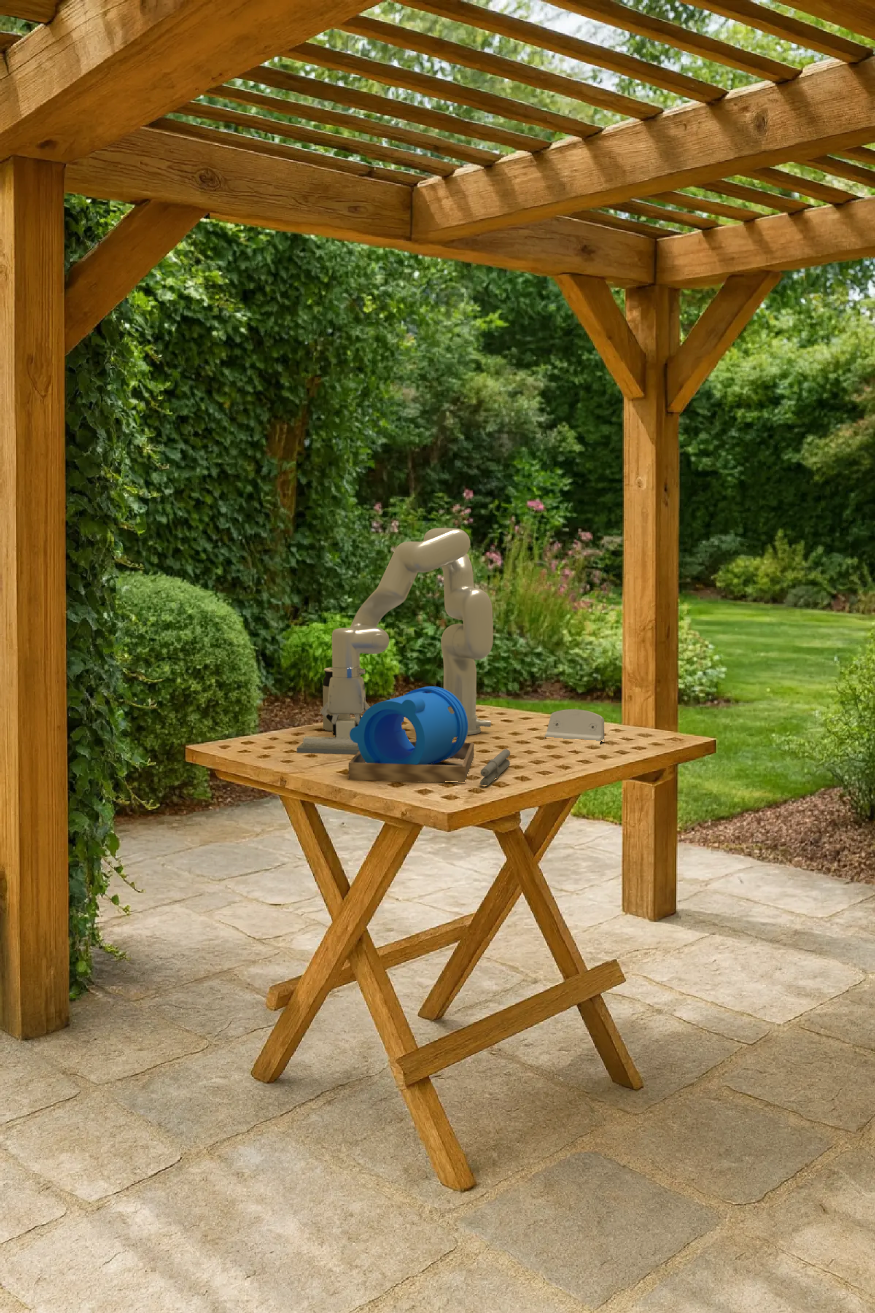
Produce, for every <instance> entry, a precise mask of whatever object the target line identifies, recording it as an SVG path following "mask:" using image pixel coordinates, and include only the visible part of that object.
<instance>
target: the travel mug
mask: <svg viewBox="0 0 875 1313" xmlns="http://www.w3.org/2000/svg"><path fill="white" fill-rule="evenodd" d="M323 671H324V675H325V676H324V678H323V679H322V680H323V681H322V708H323V707H324V706H325V705H326V703H327V702H328V693H329V683H330V678H331V677H333V668H332V667H326V668H324V669H323ZM327 712H328V713H330V712H329V711H328V709H327ZM330 714H331V715H332V716H333V714H332V713H330ZM340 718H351V714H339V717H338V719H340ZM322 729H323V730H324V729H325V730H324V731H326V730H327V732H332V731H333V724H332V723H331V722H330V721H329V720H328V719H327V718H326V717H325V716H324V715H323V714H322Z"/></svg>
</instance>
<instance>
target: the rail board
mask: <svg viewBox="0 0 875 1313" xmlns="http://www.w3.org/2000/svg"><path fill="white" fill-rule="evenodd" d="M358 752H359V748H358V744H357V743H355V742H353V741H352V740H351V738H345V737H335V736H308V735H307V736H304V737H302V743H301V744H300V745H299V746H297V747H296V753H302V754H303V753H305V754H309V753H310V754H333V755H334V754H335V755H336V754H337V755H340V754H341V755H356V754H357V753H358Z"/></svg>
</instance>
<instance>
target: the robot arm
mask: <svg viewBox="0 0 875 1313" xmlns="http://www.w3.org/2000/svg"><path fill="white" fill-rule="evenodd" d="M470 547H471V540H470V536H469V535H468V533H467V532H466V531H464V530H463V529H461V528H455V527H454V528H453V527H452V528H451V527H436V528H432V529H430V530H427V531H426V532H425V534H424V536H423V540H422V541H404V542H401V543H399V545H397V546H396V548H395V549H394V551H393V554H392V555H391V558H390V559H389V562H388V565H387V567H386V569H385V571H384V573H383V575H382V577H381V580H380V582H379V584H378V586H377V587H376V589H375V590H374V591H373V592H372V593H371V594H370V595H369V596H368V597H367V599H366V600H365V601H364V602H363V603H362V604H361V606H360V607H359V609H358V610H357V611H356V614H355V615H354V617H353V620H352V622H351V625H350V627H340V628H339V627H338V628H335V629H333V630H332V634H331V649H332V651H331V652H332V653H331V654H332V655H331V656H332V659H331V660H332V661H331V662H332V664H331V665H332V667H331V668H333V677H331V678H330V683H329V693H328V702H327V703H326V705H325V706H324V707H323V706H322V709H321V710H320V714H321V715H322V716H323V715H324V716H325V717H326V718H327V719H328V720H329V721H330V722H331V723H332V724H333V732H332V735H333V736H334V737H336V721H337V720H338V717H339V714H350V715H354V718H355V719H356V725H355V727H357V726H358V724H359V721H360V719H361V717H362V714H364V713H363V712H366V710H367V709H369V708H370V707H371V706H370V705H369V704H368V702H367V701H366V688H365V681H364V678H363V677H362V676H361V675H364V674H366V669H365V668H361V662H360V661H361V660H360V655H361V654H369V655H371V654H372V655H377V654H380V653H383V652H384V651H386V650H387V648H388V647H389V644H390V637H389V634H388V633H387V632H386V630H384V629H383V628H381V627H378V625H379V622H380V621H381V620H382V618H383V617H384V616H385V615H386V614H388V612H390V611H391V610H393V609H394V608H396V607H398V606H400V605H401V604H402V603H404V602H405V601H406V599H407V597H408V594H409V593H410V590H411V588H412V586H413V584H414V583H415V579H416V577H417V575H418V573H428V572H432V571H434V570H438V569H440V568H441V569H442V573H443V590H444V592H443V593H444V594H443V596H444V610H445V612H446V614H447V615H448V617H450V618H452V619H454V620H459V621H462V623H454V624H451V625H448V626H447V627H446V628H445V630H444V631H443V633H442V635H441V640H440V644H441V645H440V646H441V653H442V659H443V689H445V690H447V691H449V692H451V693H452V694H453V695H455V696H456V697H457V698H458V700H459V701H460V702H461V704H462V705H463V707H464V709H465V712H466V715H467V719H468V733H467V736H469V735H475V734H480V733H481V731H482V729H481V727H485V728H487V727H488V728H489V727H490V728H491V726H492V721H491V720H488V719H479V718H478V714H477V713H476V712H477V666H476V665H477V664H476V662H475V660H477V661H478V660H483V659H484V658H486V657H487V656H488V655H489V654H490V653H491V651H492V648H493V643H494V622H493V619H494V618H493V604H492V601H491V598H490V596H489V594H488V593H487V592H486V591H484V590H483V589H480V588H477V587H475V584H474V582H475V581H474V573H473V571H474V570H473V565H472V562H471V560H470V557H469V555H468V552H469V550H470ZM327 709H328V711H329V712H330V713H332V714H333V716H332V715H331V714H330V713H328V712H327ZM448 710H449V712H450V713H451V714H453V713H454V711H453V709H452V707H448ZM476 714H477V715H476Z"/></svg>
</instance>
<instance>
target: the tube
mask: <svg viewBox="0 0 875 1313" xmlns="http://www.w3.org/2000/svg"><path fill="white" fill-rule="evenodd" d="M448 707H452V709H453V711H454V713H453V714H451V713H450V712H449V710H448ZM405 719H407V720H408V721H409V722H410V724H411V725H412V727H413V729H414V731H415V738H416V740H415V741H416V745H415V747H414V746H413V745H412V744H411V742H410V741H411V740H409V738H408V735H407V733H406V730H405V729H403V727H402V726H403V724H402V723H404V722H405ZM467 733H468V719H467V715H466V712H465V709H464V707H463V705H462V704H461V702H460V701H459V700H458V698H457V697H456V696H455V695H453V694H452V693H451V692H449V691H447V690H445V689H444V687H439V686H432V685H431V686H430V685H429V686H424V687H420V688H416V689H412V690H410V691H408V692H407V693H405V694H404V695H400V696H397V697H394V698H390V699H386V700H384V701H383V700H382V701H380V702H377V703H375V704H372V705H371V706H370V708H369V709H367V710H366V709H365V711H364V713H362V715H361V719H360V721H359V724H358V726H357V727H354V728H352V729H351V731H350V738H351V740H352V741H353V742H355V743H357V744H358V748H359V751H360V753H361V755H362V757H363V759H364V760H365V762H366V763H387V764H413V765H418V764H419V765H436V764H439V763H441V762H444V761H445V760H448V759H451V758H450V757H452V756H454V755H455V754H456V753H457V752H458V751H459V750H460V749H461V748H462V746H463V744H464V742H466V740H467V737H468V735H467ZM454 739H456V740H455V741H453V740H454ZM452 742H453V743H452Z"/></svg>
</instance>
